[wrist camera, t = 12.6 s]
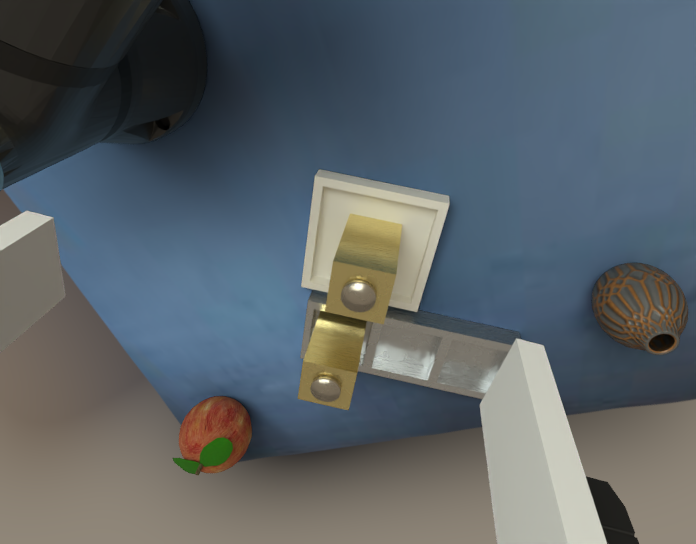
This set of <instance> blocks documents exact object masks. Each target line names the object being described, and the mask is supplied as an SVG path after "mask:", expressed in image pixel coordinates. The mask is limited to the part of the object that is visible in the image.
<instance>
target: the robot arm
mask: <svg viewBox="0 0 696 544" xmlns="http://www.w3.org/2000/svg"><path fill="white" fill-rule="evenodd" d="M206 77H207V55H206V48H205V42H204V38H203V34H202V31H201V27H200V25H199V22H198V19H197V17H196V14H195V12H194V10H193V8H192V6H191V4H190V2H189V1H188V0H0V191H1V190H2V189H4V188H6V187H8V186H10V185H12V184H14V183H16V182H18V181H20V180H22V179H25V178H27V177H29V176H31V175H33V174H35V173H37V172H39V171H41V170H43V169H45V168H47V167H49V166H52V165H54V164H56V163H58V162H60V161H62V160H64V159H66V158H68V157H70V156H72V155H74V154H76V153H78V152H81V151H83V150H85V149H87V148H89V147H91V146H93V145H95V144H97V143H118V144H141V143H146V142H151V141H154V140H157V139H160V138H162V137H164V136H166V135H167V134H169V133H171V132H173V131H175V130H176V129H178V128H179V127H181V126H182V125H183V124H184V123H186V122H187V120H188V119H189V118H190V117H191V116H192V115H193V113H194V112H195V110H196V109H197V107H198V105H199V103H200V101H201V98H202V95H203V92H204V88H205V84H206ZM65 296H66V295H65V288H64V283H63V275H62V269H61V263H60V256H59V250H58V243H57V237H56V231H55V224H54V218H53V217H49V216H45V215H41V214H38V213H34V212H30V211H25V212H23V213H22V214H20V215H18V216H16V217H15V218H13V219H11V220H9V221H8V222H6V223H4V224H2V225H1V226H0V353H1V352H2V351H3V350H4V349H6V348H7V347H8V346H9V345H10V344H11V343H12V342H14V341H15V340H16V339H17V338H18V337H19V336H21V335H22V334H23V333H24V332H25V331H26V330H27V329H29V328H30V327H31V326H32V325H33V324H34V323H36V322H37V321H38V320H39V319H40V318H41V317H42V316H43V315H45V314H46V313H47V312H48V311H49V310H51V309H52V308H53V307H54V306H55V305H56V304H57V303H59V302H60V301H61V300H62V299H63V298H64V297H65ZM480 411H481V419H482V427H483V435H484V443H485V451H486V459H487V467H488V475H489V483H490V491H491V499H492V507H493V515H494V523H495V530H496V539H497V544H639V542H638V540H637V538H635V537H634V533H635V532H634V529H633V527H632V524H631V521H630V519H629V516H628V513H627V511H626V508H625V506H624V505H623V503H622V502H621V500H620V499H619V498H618V496H617V495H616V494H615V492H614V491H613V490H612V488H611V486H610V485H609V484H608V482H605V481H601V480H597V479H593V478H590V477H586V476H585V473H584V470H583V467H582V464H581V461H580V458H579V454H578V451H577V448H576V445H575V442H574V439H573V436H572V433H571V430H570V426H569V423H568V420H567V417H566V414H565V411H564V408H563V405H562V402H561V398H560V395H559V392H558V389H557V386H556V383H555V380H554V377H553V374H552V370H551V367H550V364H549V361H548V358H547V355H546V352H545V349H544V346H543V345H540V344H536V343H532V342H528V341H525V340H521V339H517V338H516V340H515V341H514V343H513V345H512V347H511V349H510V351H509V352H508V354H507V356H506V358H505V360H504V361H503V363H502V365H501V367H500V369H499V371H498V372H497V374H496V376H495V378H494V380H493V382H492V383H491V385H490V387H489V389H488V391H487V392H486V394H485V396H484V398H483V400H482V402H481V403H480Z"/></svg>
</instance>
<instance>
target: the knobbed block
mask: <svg viewBox="0 0 696 544" xmlns="http://www.w3.org/2000/svg"><path fill="white" fill-rule="evenodd" d="M401 231H402V224H398V223H394V222H389V221H384V220H379V219H375V218H370V217H365V216H360V215H356V214H351V213H350V215H349V217H348V220H347V223H346V226H345V229H344V232H343V234H342V237H341V240H340V243H339V246H338V249H337V251H336V254H335V257H334V260H333V265H332V271H331V277H330V283H329V289H328V295H327V301H326V307H325V312H329V313H334V314H338V315H343V316H347V317H352V318H356V319H361V320H365V321H370V322H374V323H379V324H383V325H384V321H385V317H386V313H387V309H388V305H389V301H390V298H391V294H392V290H393V286H394V282H395V278H396V274H397V265H398V256H399V248H400V239H401Z"/></svg>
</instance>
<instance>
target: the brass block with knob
mask: <svg viewBox="0 0 696 544" xmlns="http://www.w3.org/2000/svg"><path fill="white" fill-rule="evenodd" d="M366 324H367V321H365V320H361V319H356V318H352V317H347V316H343V315H338V314H334V313H329V312H325V311H320V313H319V316H318V319H317V322H316V325H315V328H314V331H313V334H312V336H311V339H310V342H309V345H308V348H307V351H306V354H305V357H304V360H303V366H302V373H301V380H300V387H299V394H298V399H301V400H305V401H310V402H314V403H319V404H323V405H327V406H332V407H336V408H340V409H345V410H349V406H350V402H351V398H352V393H353V389H354V385H355V381H356V376H357V372H358V366H359V361H360V356H361V350H362V345H363V340H364V335H365V329H366Z"/></svg>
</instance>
